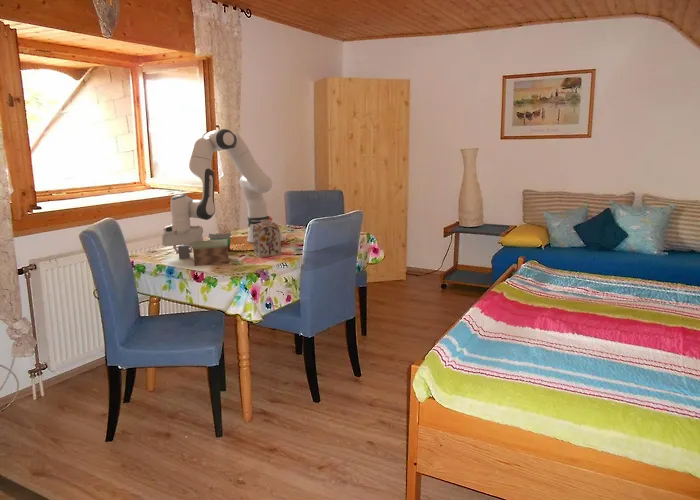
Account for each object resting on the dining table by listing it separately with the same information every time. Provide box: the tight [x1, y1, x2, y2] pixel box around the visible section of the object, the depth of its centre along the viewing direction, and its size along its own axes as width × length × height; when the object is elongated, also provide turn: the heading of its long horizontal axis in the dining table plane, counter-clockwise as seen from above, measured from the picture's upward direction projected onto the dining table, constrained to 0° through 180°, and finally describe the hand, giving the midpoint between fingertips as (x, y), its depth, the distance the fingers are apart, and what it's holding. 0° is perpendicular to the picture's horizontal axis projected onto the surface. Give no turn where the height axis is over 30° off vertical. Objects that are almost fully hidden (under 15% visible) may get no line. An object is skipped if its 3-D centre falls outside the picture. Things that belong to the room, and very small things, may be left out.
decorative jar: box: [252, 220, 282, 258], centre depth 280 cm, size 12×12×18 cm
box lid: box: [191, 239, 228, 250], centre depth 268 cm, size 16×12×1 cm
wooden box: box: [192, 247, 229, 267], centre depth 269 cm, size 16×12×8 cm
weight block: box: [177, 245, 191, 260], centre depth 280 cm, size 5×5×6 cm
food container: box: [208, 231, 232, 252], centre depth 291 cm, size 12×6×10 cm, turn 117°
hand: (184, 253), depth 280 cm, fingers closed on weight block, 5 cm apart
